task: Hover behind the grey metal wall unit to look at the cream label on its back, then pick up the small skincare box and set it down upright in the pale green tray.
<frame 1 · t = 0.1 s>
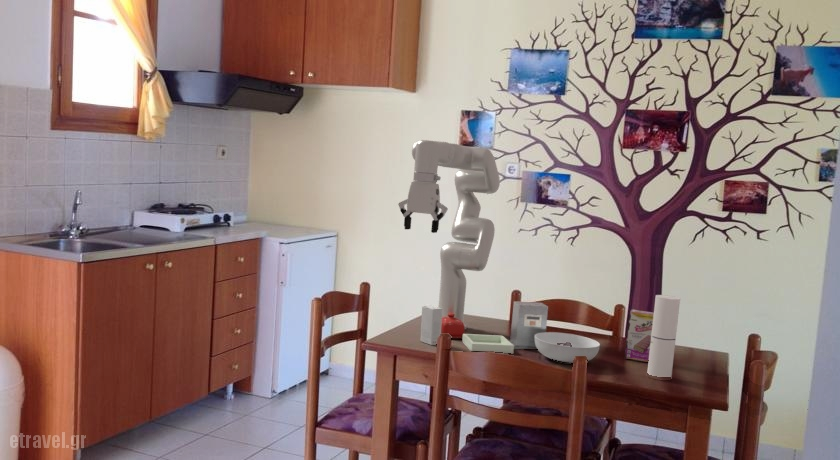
hand: (420, 230, 249), 37 cm above the table, tool pointing down, fingers open, 9 cm apart
candy bar box: (642, 361, 254), on the table
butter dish: (449, 337, 268), on the table
tray: (487, 347, 255), on the table
serving bowl: (565, 360, 247), on the table
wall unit: (526, 346, 261), on the table
skincare box: (429, 343, 254), on the table
cylindrical container: (658, 378, 234), on the table
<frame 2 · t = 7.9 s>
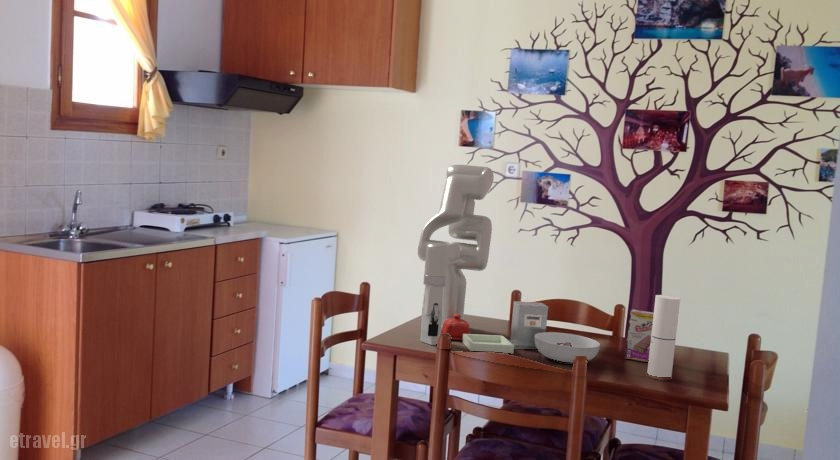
hand: (430, 333, 254), 3 cm above the table, tool pointing down, fingers closed on skincare box, 7 cm apart
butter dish: (455, 338, 266), on the table
skincare box: (429, 343, 254), on the table, touching gripper
everything else where it was.
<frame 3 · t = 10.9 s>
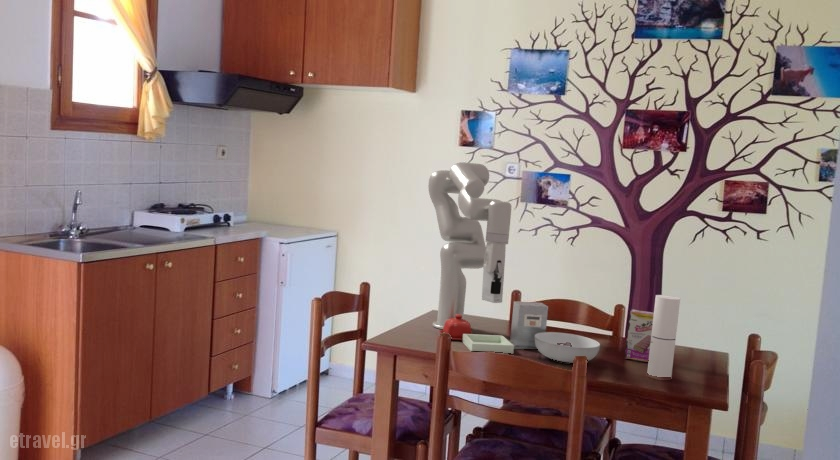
hand: (492, 291, 253), 19 cm above the table, tool pointing down, fingers closed on skincare box, 7 cm apart
skincare box: (491, 301, 253), point 15 cm above the table, touching gripper
when the fingers open (5 cm above the table, at t = 13.9 s): skincare box drops 1 cm, resting on tray.
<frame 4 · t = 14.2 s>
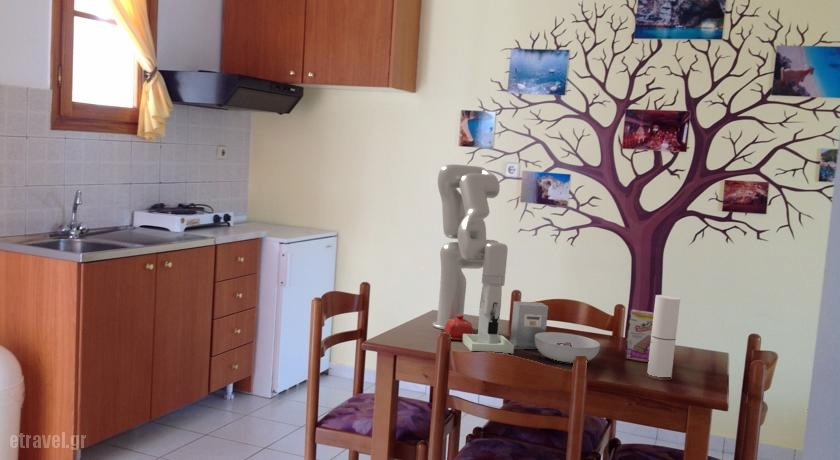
hand: (488, 330, 254), 6 cm above the table, tool pointing down, fingers open, 9 cm apart
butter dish: (458, 339, 266), on the table, touching tray
skincare box: (486, 346, 255), resting on tray
everything else where it was.
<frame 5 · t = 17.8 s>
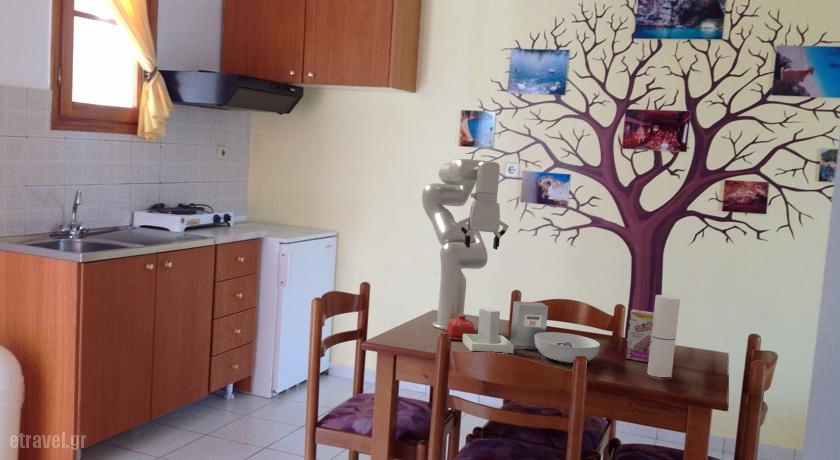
hand: (481, 248, 259), 32 cm above the table, tool pointing down, fingers open, 9 cm apart
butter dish: (460, 339, 266), on the table
everything else where it was.
at the end: skincare box inside the target area on the tray (0.3 cm from its centre), point 0.4 cm above the tray's base; skincare box tilted 0°; the gripper is holding nothing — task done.
